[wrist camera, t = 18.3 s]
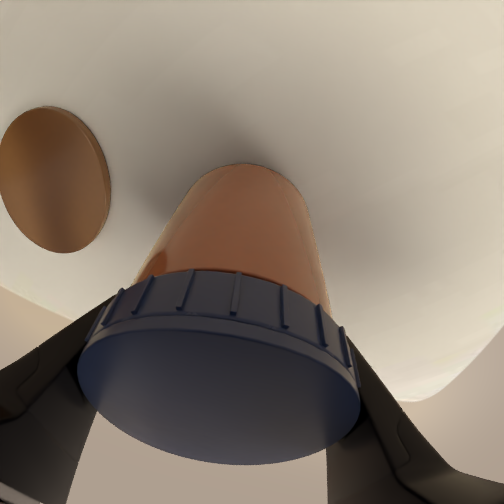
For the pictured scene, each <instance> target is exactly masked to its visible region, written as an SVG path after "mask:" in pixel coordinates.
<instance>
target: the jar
mask: <svg viewBox="0 0 504 504" xmlns="http://www.w3.org/2000/svg"><path fill="white" fill-rule="evenodd" d="M189 269H194V270H195V271H202V270H203V271H217V272H225V273H233V274H236V272H241V273H242V275H244V276H249V277H253V278H257V279H262V280H265V281H269V282H271V283H275V284H277V285H279V286H282V284H284V285H286V286H287V289H289V290H291V291H293V292H295V293H297V294H299V295H301V296H303V297H305V298H306V299H308V300H309V301H311V302H313V303H314V304H316V305H318V304H321V305H322V306H323V310H324V311H325V312H326V313H327V314H328V315H329V316H330V317H331V318H332V313H331V308H330V303H329V299H328V294H327V289H326V285H325V280H324V276H323V271H322V267H321V262H320V258H319V254H318V250H317V245H316V241H315V237H314V233H313V229H312V225H311V221H310V217H309V213H308V209H307V206H306V204H305V201H304V199H303V197H302V196H301V194H300V193H299V191H298V190H297V189H296V188H295V186H294V185H293V184H292V183H291V182H290V181H288V180H287V179H286V178H285V177H283V176H282V175H280V174H279V173H277V172H275V171H273V170H270V169H268V168H265V167H262V166H257V165H252V164H233V165H227V166H223V167H220V168H217V169H215V170H213V171H211V172H209V173H207V174H205V175H204V176H202V177H201V178H200V179H199V180H198V181H197V182H195V183H194V185H193V186H192V187H191V188H190V189H189V191H188V193H187V194H186V196H185V197H184V199H183V200H182V202H181V203H180V205H179V206H178V208H177V209H176V211H175V213H174V214H173V216H172V217H171V219H170V220H169V222H168V224H167V225H166V227H165V228H164V230H163V232H162V233H161V235H160V237H159V238H158V240H157V241H156V243H155V245H154V246H153V248H152V250H151V251H150V253H149V255H148V257H147V258H146V260H145V262H144V263H143V265H142V267H141V269H140V270H139V272H138V274H137V276H136V277H135V279H134V281H133V283H132V284H131V286H133V285H135V284H136V283H138V282H141V281H143V280H145V279H147V278H148V276H149V275H152V274H153V276H154V277H155V276H160V275H164V274H169V273H176V272H187V271H189ZM131 286H130V287H131ZM332 319H333V318H332Z"/></svg>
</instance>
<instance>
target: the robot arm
mask: <svg viewBox="0 0 504 504" xmlns="http://www.w3.org/2000/svg"><path fill="white" fill-rule="evenodd" d="M116 295H117V294H116ZM116 295H114V296H112V297H111V298H109V299H107V300H106V301H104V302H103V303H101V304H100V305H98V306H97V307H95V308H94V309H92V310H91V311H89V312H88V313H86V314H85V315H83V316H82V317H80V318H79V319H77V320H76V321H74V322H73V323H71V324H70V325H69V326H67V327H65V328H64V329H62V330H61V331H59V332H58V333H57V334H55V335H54V336H52V337H51V338H49V339H48V340H46V341H45V342H43V343H42V344H41V345H39V347H36V348H35V349H33V350H32V351H30V352H29V353H27V354H26V355H25V356H23V357H21V358H20V359H19V360H17V361H15V362H14V363H12V364H10V365H8V366H7V367H5V368H3V369H2V370H0V504H40V502H41V503H43V504H66V501H67V498H68V494H69V491H70V488H71V484H72V481H73V478H74V475H75V471H76V469H77V466H78V462H79V459H80V456H81V453H82V450H83V448H84V445H85V442H86V439H87V436H88V434H89V431H90V428H91V426H92V423H93V420H94V418H95V415H96V412H97V410H96V409H95V408H94V407H93V406H92V404H91V403H90V402H89V401H88V399H87V398H86V396H85V395H84V393H83V391H82V389H81V387H80V384H79V381H78V376H77V365H78V361H79V358H80V356H81V354H82V352H83V350H84V348H85V346H86V345H87V341H85V338H86V336H87V335H88V333H89V331H90V329H91V327H92V325H93V324H94V322H95V320H96V318H97V317H98V315H99V313H100V311H101V310H102V308H103V306H105V307H107V306H108V305H109V304H110V303H111V301H112V300H113V299H114V298H115V296H116ZM346 338H347V342H348V345H349V348H350V349H353V350H354V355H355V360H356V364H357V369H358V374H359V379H360V384H361V387H359V388H358V392H359V398H360V413H359V416H358V420H357V421H356V423H355V425H354V426H353V428H352V429H351V430H350V431H349V432H348V433H347V434H346V435H345V436H344V437H343V438H342V439H340V440H339V441H338V442H336V443H334V444H333V445H331V446H329V447H327V448H326V455H327V487H328V504H504V484H503V483H498V482H494V481H490V480H486V479H483V478H479V477H476V476H472V475H468V474H465V473H462V472H459V471H457V470H455V469H454V468H452V467H451V466H450V465H449V464H448V463H447V462H446V461H445V460H444V459H443V458H442V457H441V456H440V455H439V453H438V452H437V451H436V450H435V449H434V448H433V447H432V446H431V445H430V443H429V442H428V441H427V440H426V439H425V438H424V436H423V435H422V434H421V433H420V432H419V431H418V429H417V428H416V427H415V426H414V424H413V423H412V422H411V420H410V419H409V418H408V416H407V415H406V414H405V412H403V410H402V408H401V407H400V405H399V404H398V403H397V401H396V400H395V399H394V397H393V396H392V395H391V393H390V392H389V391H388V389H387V388H386V387H385V385H384V384H383V382H382V381H381V380H380V378H379V377H378V376H377V374H376V373H375V372H374V370H373V369H372V368H371V366H370V365H369V364H368V363H367V361H366V360H365V359H364V357H363V356H362V355H361V353H360V352H359V351H358V349H357V348H356V347H355V345H354V344H353V343H352V341H351V340H350V339H349V338H348V336H346Z"/></svg>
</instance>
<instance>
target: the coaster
mask: <svg viewBox="0 0 504 504" xmlns="http://www.w3.org/2000/svg"><path fill="white" fill-rule="evenodd" d="M110 191H111V188H110V178H109V173H108V168H107V165H106V161H105V158H104V155H103V153H102V151H101V148H100V146H99V144H98V143H97V141H96V139H95V137H94V136H93V134H92V133H91V132H90V130H89V129H88V128H87V127H86V126H85V124H84V123H83V122H82V121H81V120H79V119H78V118H77V117H76V116H74V115H73V114H71V113H69V112H68V111H66V110H63V109H61V108H57V107H52V106H43V107H38V108H34V109H31V110H29V111H26V112H24V113H23V114H21V115H20V116H18V117H17V118H16V119H15V120H14V121H13V122H12V123H11V125H10V126H9V127H8V129H7V131H6V132H5V134H4V136H3V139H2V141H1V144H0V193H1V196H2V199H3V202H4V205H5V207H6V209H7V211H8V213H9V215H10V217H11V218H12V220H13V221H14V223H15V224H16V226H17V227H18V228H19V229H20V230H21V232H22V233H23V234H24V235H25V236H26V237H27V238H29V239H30V240H31V241H32V242H34V243H35V244H37V245H38V246H40V247H42V248H44V249H46V250H49V251H52V252H56V253H72V252H76V251H78V250H81V249H83V248H84V247H86V246H87V245H88V244H90V243H91V242H92V241H93V240H94V239H95V237H96V236H97V235H98V234H99V233H100V231H101V229H102V228H103V226H104V224H105V221H106V219H107V215H108V211H109V206H110Z"/></svg>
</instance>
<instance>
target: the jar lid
mask: <svg viewBox="0 0 504 504" xmlns="http://www.w3.org/2000/svg"><path fill="white" fill-rule="evenodd" d="M85 341H87V345H86V346H85V348H84V350H83V352H82V354H81V356H80V358H79V361H78V365H77V376H78V381H79V384H80V387H81V389H82V391H83V393H84V395H85V396H86V398H87V399H88V401H89V402H90V403H91V404H92V406H93V407H94V408H95V409H96V410H97V411H98V412H99V413H100V414H101V415H102V416H103V417H104V418H106V419H107V420H108V421H109V422H110V423H112V424H113V425H115V426H116V427H117V428H119V429H120V430H122V431H124V432H125V433H127V434H128V435H130V436H132V437H134V438H136V439H137V440H140V441H141V442H143V443H146V444H148V445H150V446H152V447H155V448H157V449H160V450H163V451H165V452H168V453H171V454H175V455H178V456H181V457H185V458H190V459H194V460H199V461H204V462H211V463H218V464H229V465H261V464H271V463H279V462H285V461H290V460H294V459H298V458H302V457H305V456H308V455H311V454H314V453H316V452H319V451H321V450H323V449H325V448H327V447H329V446H331V445H333V444H334V443H336V442H338V441H339V440H340V439H342V438H343V437H344V436H345V435H346V434H347V433H348V432H349V431H350V430H351V429H352V428H353V426H354V425H355V423H356V421H357V420H358V416H359V413H360V398H359V392H358V388H359V387H361V384H360V379H359V374H358V369H357V364H356V360H355V355H354V350H353V349H350V348H349V345H348V342H347V338H346V334H345V329H344V327H343V326H341V327H339V326H338V325H337V324H336V323H335V322H334V320H333V319H332V318H331V317H330V316H329V315H328V314H327V313H326V312H325V311H324V310H323V306H322V305H321V304H318V305H316V304H314V303H313V302H311V301H309V300H308V299H306V298H305V297H303V296H301V295H299V294H297V293H295V292H293V291H291V290H289V289H287V286H286V285H284V284H282V286H279V285H277V284H275V283H271V282H269V281H265V280H262V279H257V278H253V277H249V276H244V275H242V273H241V272H236V274H233V273H225V272H217V271H203V270H202V271H195V270H194V269H189V271H187V272H176V273H169V274H164V275H160V276H155V277H154V276H153V274H152V275H149V276H148V278H147V279H145V280H143V281H141V282H138V283H136V284H135V285H133V286H131V287H129V288H127V289H126V290H124V289H123V288H121V289H120V290H119V291H118V293H117V295H116V296H115V298H114V299H113V300H112V301H111V303H110V304H109V305H108V306H107V307H105V306H103V308H102V310H101V311H100V313H99V315H98V317H97V318H96V320H95V322H94V324H93V325H92V327H91V329H90V331H89V333H88V335H87V336H86V338H85Z"/></svg>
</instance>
